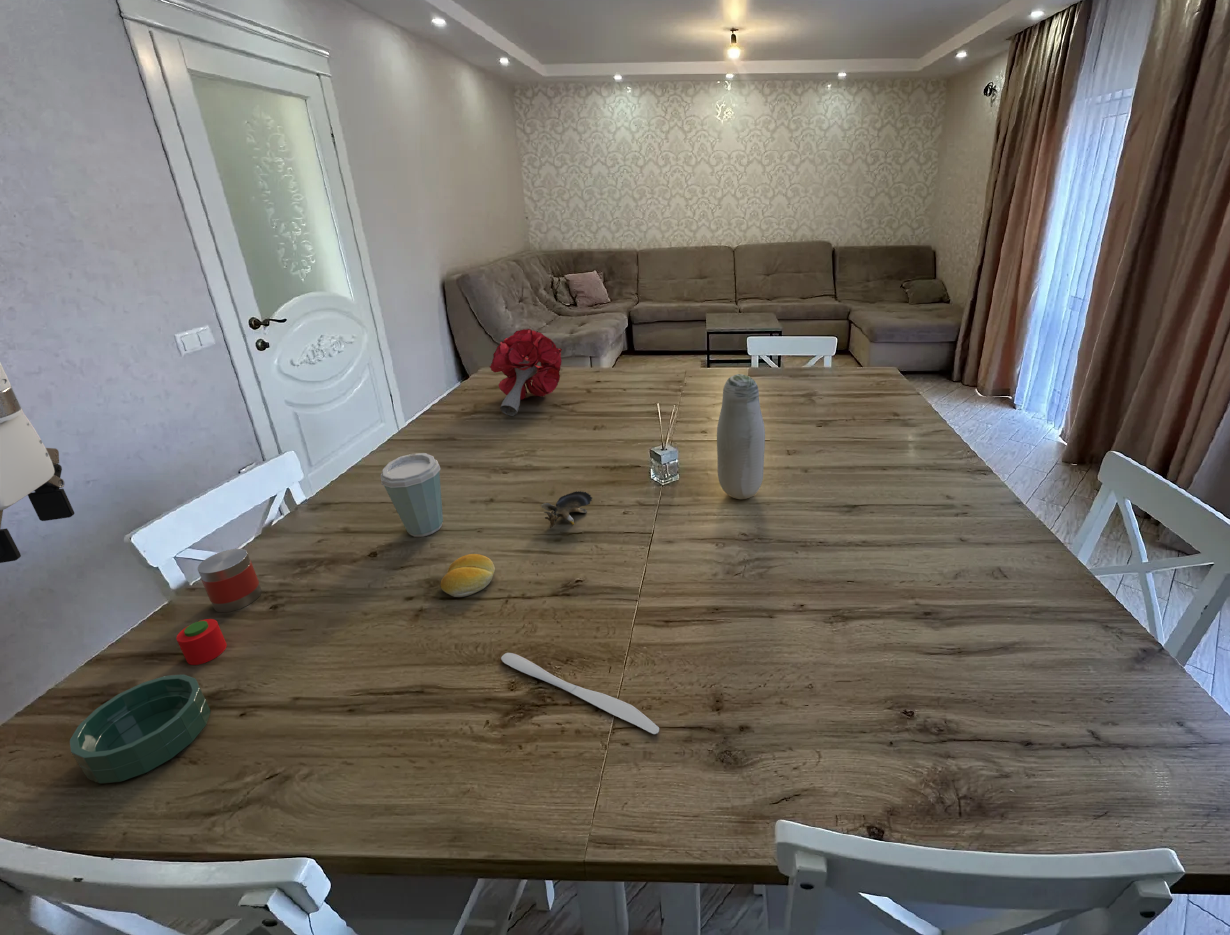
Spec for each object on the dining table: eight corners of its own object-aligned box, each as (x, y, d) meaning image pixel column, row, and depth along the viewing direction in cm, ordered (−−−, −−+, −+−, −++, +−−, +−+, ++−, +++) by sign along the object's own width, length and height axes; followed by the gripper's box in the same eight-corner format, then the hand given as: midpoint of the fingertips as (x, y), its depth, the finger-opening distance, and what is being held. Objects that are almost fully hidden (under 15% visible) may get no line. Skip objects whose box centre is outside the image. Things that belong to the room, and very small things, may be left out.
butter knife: (513, 645, 83) (497, 658, 81) (665, 720, 71) (653, 739, 69) (513, 648, 83) (498, 661, 81) (665, 724, 72) (653, 742, 69)
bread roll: (435, 600, 93) (430, 581, 92) (456, 566, 102) (452, 548, 100) (484, 598, 94) (480, 579, 92) (501, 565, 102) (498, 547, 100)
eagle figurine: (567, 533, 109) (600, 506, 115) (546, 503, 108) (580, 478, 114) (552, 537, 115) (584, 511, 121) (532, 509, 114) (565, 485, 120)
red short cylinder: (179, 661, 82) (166, 634, 80) (213, 638, 86) (201, 613, 84) (200, 668, 81) (188, 641, 79) (234, 644, 85) (223, 619, 83)
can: (204, 608, 92) (186, 569, 89) (244, 583, 98) (229, 545, 95) (231, 616, 90) (215, 576, 87) (271, 590, 96) (257, 552, 93)
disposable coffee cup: (448, 538, 110) (434, 472, 104) (388, 548, 107) (370, 480, 101) (455, 510, 119) (442, 448, 114) (400, 519, 116) (384, 455, 111)
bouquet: (556, 431, 174) (578, 362, 192) (526, 382, 156) (554, 310, 174) (493, 432, 177) (521, 364, 196) (457, 384, 159) (491, 314, 178)
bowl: (64, 770, 66) (46, 741, 65) (173, 693, 77) (160, 666, 75) (127, 798, 63) (109, 768, 61) (232, 714, 73) (220, 686, 72)
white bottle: (771, 499, 122) (775, 379, 112) (730, 510, 118) (730, 387, 108) (749, 479, 131) (750, 366, 120) (710, 489, 126) (708, 373, 116)
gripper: (-19, 389, 68) (39, 509, 74) (-160, 445, 53) (-73, 589, 59) (62, 382, 71) (112, 499, 77) (-51, 434, 56) (22, 574, 62)
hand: (31, 538), depth 68 cm, fingers open, 9 cm apart
